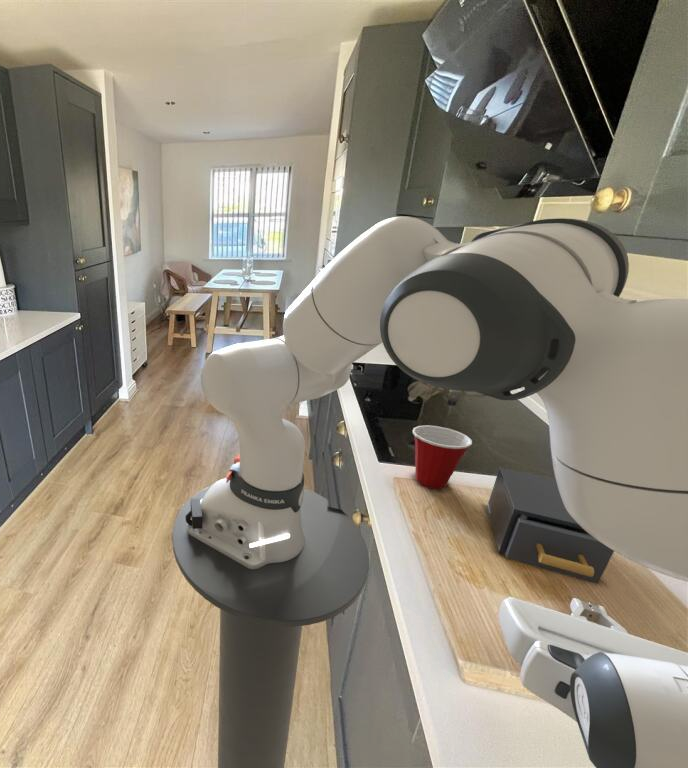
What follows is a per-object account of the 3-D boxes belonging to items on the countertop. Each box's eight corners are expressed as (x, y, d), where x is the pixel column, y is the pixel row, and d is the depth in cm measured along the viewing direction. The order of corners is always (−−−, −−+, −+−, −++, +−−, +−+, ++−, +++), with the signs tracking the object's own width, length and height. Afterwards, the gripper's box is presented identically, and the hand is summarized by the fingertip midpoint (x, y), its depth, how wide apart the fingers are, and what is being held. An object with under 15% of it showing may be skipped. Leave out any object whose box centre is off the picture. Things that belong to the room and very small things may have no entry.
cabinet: (595, 580, 64) (619, 533, 60) (498, 553, 69) (514, 508, 66) (569, 527, 75) (587, 484, 71) (486, 507, 80) (499, 467, 77)
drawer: (607, 604, 59) (628, 564, 56) (510, 575, 64) (525, 537, 61) (571, 533, 72) (587, 498, 69) (494, 513, 77) (505, 480, 74)
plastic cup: (454, 472, 91) (466, 426, 87) (463, 500, 82) (478, 451, 78) (401, 463, 96) (410, 419, 91) (404, 488, 87) (415, 441, 82)
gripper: (803, 745, 36) (711, 621, 48) (520, 644, 46) (499, 560, 57) (767, 783, 39) (687, 656, 50) (505, 679, 48) (487, 592, 59)
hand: (585, 605), depth 54 cm, fingers closed
